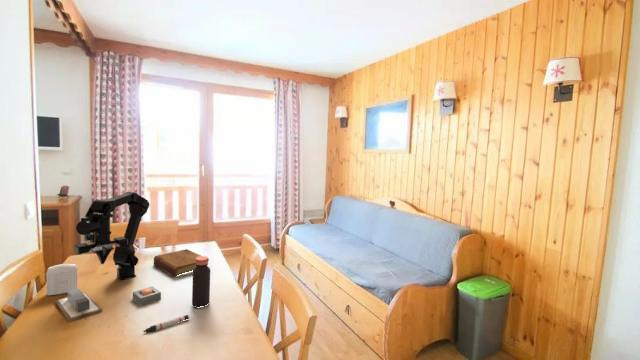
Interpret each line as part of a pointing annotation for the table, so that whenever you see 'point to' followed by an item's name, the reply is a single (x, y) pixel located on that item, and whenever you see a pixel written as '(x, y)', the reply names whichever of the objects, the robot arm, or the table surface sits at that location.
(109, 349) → the table surface
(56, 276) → the photo printer
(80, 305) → the grey rectangular block
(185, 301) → the table surface
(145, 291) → the button
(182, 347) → the table surface
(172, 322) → the marker
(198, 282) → the bottle
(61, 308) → the drawing board
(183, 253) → the diary
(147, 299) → the button housing
